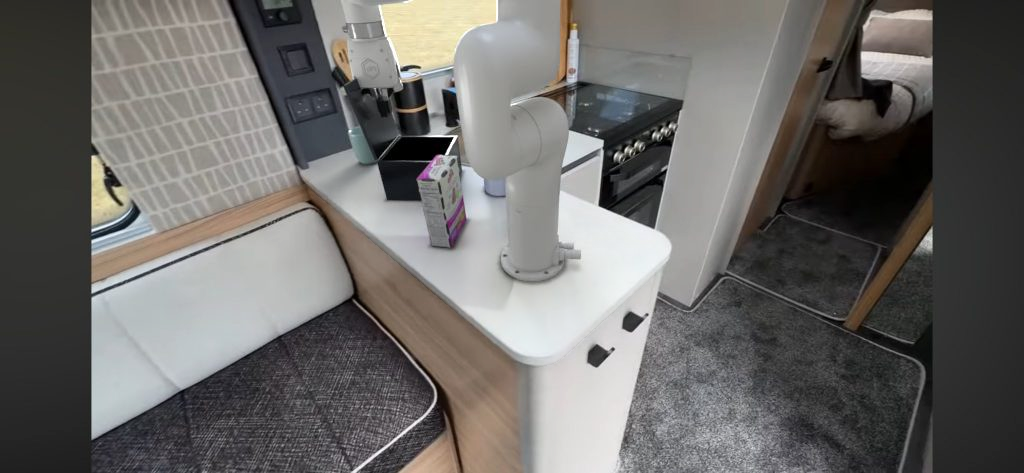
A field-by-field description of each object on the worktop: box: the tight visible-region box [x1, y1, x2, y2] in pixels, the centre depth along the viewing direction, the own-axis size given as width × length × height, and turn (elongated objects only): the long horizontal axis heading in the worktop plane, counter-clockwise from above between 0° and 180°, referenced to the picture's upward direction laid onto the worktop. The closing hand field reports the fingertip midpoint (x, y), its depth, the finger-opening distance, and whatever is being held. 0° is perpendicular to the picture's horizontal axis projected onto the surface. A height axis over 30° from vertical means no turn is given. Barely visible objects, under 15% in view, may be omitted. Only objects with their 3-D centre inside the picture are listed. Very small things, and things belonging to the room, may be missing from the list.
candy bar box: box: [416, 155, 468, 249], centre depth 79 cm, size 11×5×16 cm, turn 168°
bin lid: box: [339, 78, 400, 160], centre depth 92 cm, size 17×17×5 cm
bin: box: [376, 135, 463, 202], centre depth 99 cm, size 17×17×11 cm
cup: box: [347, 125, 380, 165], centre depth 113 cm, size 8×8×10 cm
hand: (386, 115), depth 92 cm, fingers closed
